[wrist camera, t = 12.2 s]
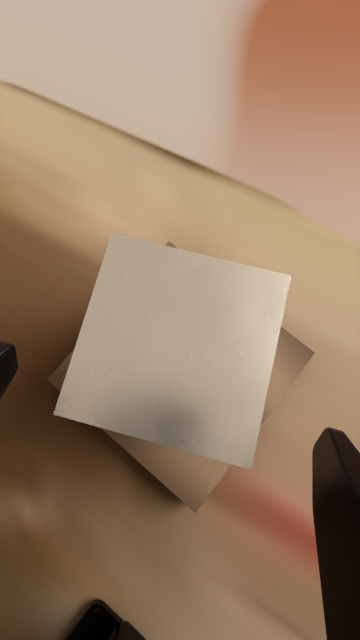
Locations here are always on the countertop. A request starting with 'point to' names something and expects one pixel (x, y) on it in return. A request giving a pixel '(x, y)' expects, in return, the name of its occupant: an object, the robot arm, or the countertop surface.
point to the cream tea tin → (177, 350)
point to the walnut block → (190, 469)
